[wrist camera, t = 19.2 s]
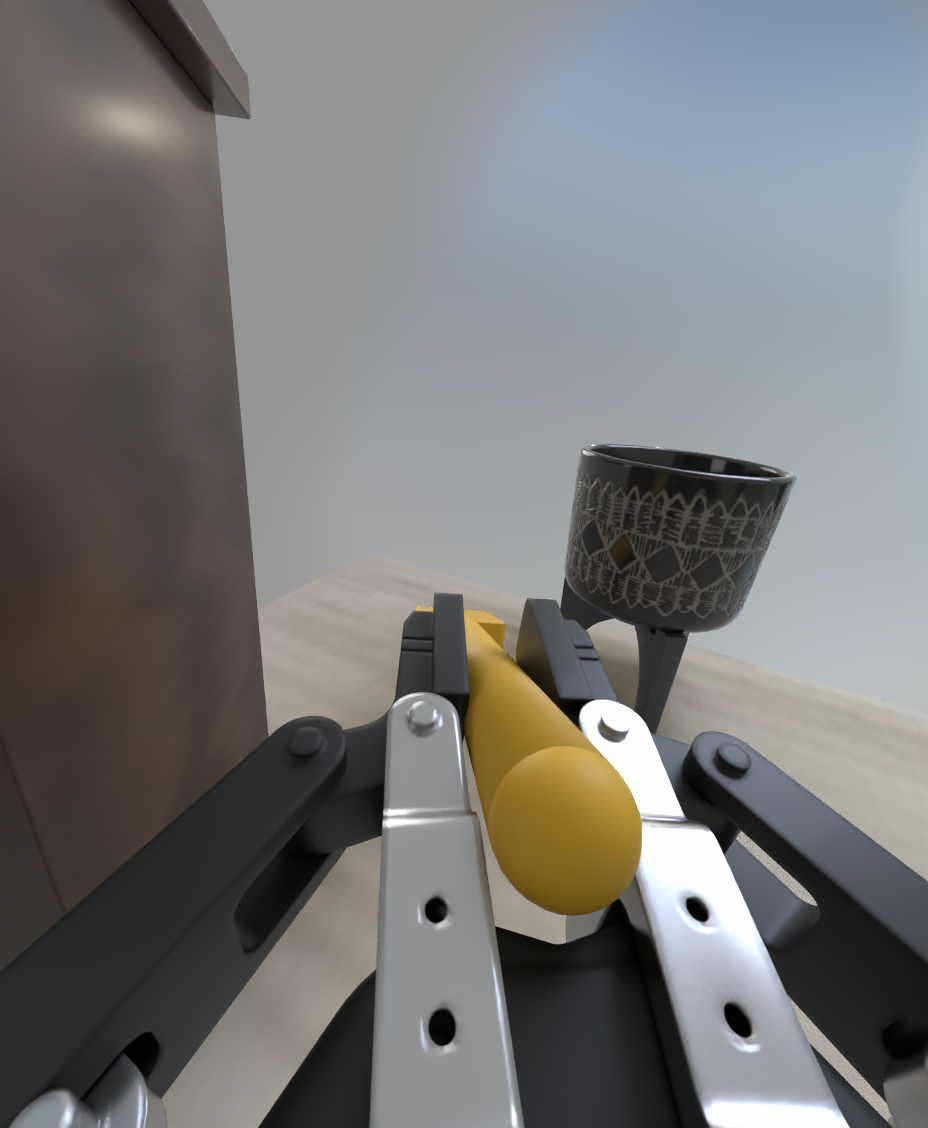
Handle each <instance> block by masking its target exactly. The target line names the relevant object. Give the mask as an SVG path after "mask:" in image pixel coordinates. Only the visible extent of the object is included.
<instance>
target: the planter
mask: <svg viewBox="0 0 928 1128" xmlns="http://www.w3.org/2000/svg"><path fill="white" fill-rule="evenodd" d="M795 482H796V476H795V475H793V474H792V473H790V472H788V471H785V470H782V469H779V468H776V467H772V466H768V465H764V464H759V463H755V462H750V461H745V460H740V459H735V458H729V457H723V456H717V455H711V454H703V453H697V452H690V451H683V450H675V449H667V448H657V447H647V446H636V445H621V444H591V445H586V446H583V447H582V448H581V450H580V456H579V465H578V471H577V479H576V486H575V494H574V501H573V509H572V516H571V523H570V531H569V538H568V546H567V554H566V561H565V579H564V587H563V594H562V602H561V608H560V611H561V613H562V616H563V618H564V619H570V620H575V621H576V622H577V623H578V624H579V625H581V626H582V627H583V628H584V629H585V630H587V629H588V628H589V627H591V626H592V625H594V624H596V623H598V622H601V621H605V620H609V619H613V618H616V619H618V620H620V621H622V622H625V623H628V624H631V625H634V626H635V629H636V633H637V639H638V646H639V682H638V691H637V698H636V703H635V708H634V712H635V713H636V714H638V715H639V716H640V717H641V718H642V720H643V721H644V722H645V724H646V726H647V728H648V730H649V732H651V733H656V730H657V727H658V724H659V721H660V718H661V715H662V712H663V709H664V707H665V704H666V701H667V698H668V695H669V692H670V689H671V686H672V683H673V680H674V677H675V675H676V672H677V669H678V666H679V663H680V660H681V657H682V654H683V651H684V648H685V645H686V643H687V638H688V635H689V633H697V632H708V631H712V630H716V629H720V628H722V627H724V626H727V625H729V624H730V623H732V622H733V621H734V620H735V619H736V618H737V617H738V616H739V614H740V613H741V611H742V609H743V606H744V604H745V601H746V599H747V597H748V594H749V592H750V590H751V587H752V585H753V582H754V580H755V577H756V575H757V573H758V570H759V568H760V566H761V563H762V561H763V558H764V556H765V553H766V551H767V549H768V546H769V544H770V541H771V539H772V537H773V534H774V532H775V530H776V527H777V525H778V523H779V520H780V518H781V515H782V513H783V511H784V508H785V506H786V503H787V501H788V498H789V496H790V494H791V491H792V489H793V487H794V484H795Z"/></svg>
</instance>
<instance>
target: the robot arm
mask: <svg viewBox="0 0 928 1128" xmlns="http://www.w3.org/2000/svg"><path fill="white" fill-rule="evenodd" d="M516 664H517V665H518V666H519V667H520V668H521V669H522V670H523V671H524V672H525V673H526V674H527V675H528V676H529V677H530V678H531V680H532V681H533V682H534V683H535V684H536V685H537V686H538V687H539V688H540V689H541V690H542V691H543V692H544V693H545V694H546V695H547V696H548V697H549V698H550V700H551V701H552V702H553V703H554V704H555V705H556V706H557V707H558V708H559V709H560V710H561V711H562V712H563V713H564V714H565V715H566V716H567V717H568V718H569V719H570V721H571V722H572V723H573V724H574V725H575V726H576V727H577V728H578V729H579V730H580V731H581V732H582V733H583V734H584V735H585V736H586V737H587V738H588V739H589V741H590V742H591V743H592V744H593V745H594V746H595V747H596V748H597V749H598V750H599V751H600V752H601V753H602V754H603V755H604V756H605V757H606V758H607V759H608V761H609V762H610V763H611V764H612V765H613V766H614V767H615V768H616V769H617V770H618V771H619V773H620V774H621V775H622V777H623V778H624V780H625V782H626V783H627V784H628V786H629V787H630V789H631V791H632V793H633V795H634V798H635V800H636V802H637V806H638V809H639V812H640V817H641V822H642V831H643V844H642V853H641V859H640V863H639V866H638V869H637V871H636V874H635V876H634V877H633V879H632V881H631V883H630V884H629V886H628V887H627V889H626V890H625V891H624V892H623V893H622V894H621V896H620V897H619V898H618V899H616V900H615V901H614V902H613V903H611V904H610V905H609V906H607V907H605V908H603V909H601V910H599V911H596V912H593V913H589V914H584V915H573V916H570V915H566V943H564V944H552V943H548V942H545V941H542V940H538V939H535V938H532V937H529V936H526V935H522V934H519V933H516V932H513V931H509V930H506V929H503V928H500V927H496V926H495V923H494V916H493V909H492V903H491V896H490V889H489V882H488V875H487V868H486V861H485V854H484V847H483V840H482V834H481V827H480V822H479V818H478V815H477V813H476V812H475V811H473V812H472V810H471V806H470V800H469V792H468V785H467V777H466V769H465V762H464V754H463V746H462V745H463V738H464V729H463V724H464V718H465V715H466V713H467V711H468V704H469V698H470V687H469V674H468V661H467V648H466V635H465V621H464V608H463V596H462V594H449V593H435V595H434V606H433V612H431V611H413V612H412V613H411V614H410V616H409V617H408V618H407V619H406V620H405V622H404V626H403V635H402V644H401V652H400V661H399V669H398V678H397V686H396V695H395V700H394V702H393V705H392V706H391V708H390V709H389V710H388V711H387V713H386V714H385V715H383V716H382V717H381V718H379V719H378V720H376V721H374V722H372V723H370V724H367V725H363V726H360V727H356V728H352V729H347V730H343V729H342V727H341V726H340V725H339V724H338V723H336V722H335V721H333V720H331V719H329V718H326V717H322V716H306V717H301V718H298V719H295V720H292V721H290V722H288V723H286V724H284V725H283V726H281V727H280V728H279V729H277V730H276V731H275V732H274V733H273V734H272V735H271V736H269V737H268V738H267V739H266V740H265V741H264V742H263V743H261V744H260V745H259V746H258V747H257V748H256V749H255V750H253V751H252V752H251V753H250V754H249V755H248V756H247V757H245V758H244V759H243V760H242V761H241V762H240V763H238V764H237V765H236V766H235V767H234V768H233V769H232V770H230V771H229V772H228V773H227V774H226V775H225V776H224V777H222V778H221V779H220V780H219V781H218V782H217V783H216V784H214V785H213V786H212V787H211V788H210V789H209V790H208V791H206V792H205V793H204V794H203V795H202V796H201V797H200V798H198V799H197V800H196V801H195V802H194V803H193V804H192V805H190V806H189V807H188V808H187V809H186V810H185V811H184V812H182V813H181V814H180V815H179V816H178V817H177V818H176V819H174V820H173V821H172V822H171V823H170V824H169V825H168V826H166V827H165V828H164V829H163V830H162V831H161V832H160V833H158V834H157V835H156V836H155V837H154V838H153V839H151V840H150V841H149V842H148V843H147V844H146V845H145V846H143V847H142V848H141V849H140V850H139V851H138V852H137V853H135V854H134V855H133V856H132V857H131V858H130V859H129V860H127V861H126V862H125V863H124V864H123V865H122V866H121V867H119V868H118V869H117V870H116V871H115V872H114V873H113V874H111V875H110V876H109V877H108V878H107V879H106V880H105V881H103V882H102V883H101V884H100V885H99V886H98V887H97V888H95V889H94V890H93V891H92V892H91V893H90V894H89V895H87V896H86V897H85V898H84V899H83V900H82V901H81V902H79V903H78V904H77V905H76V906H75V907H74V908H72V909H71V910H70V911H69V912H68V913H67V914H66V915H64V916H63V917H62V918H61V919H60V920H59V921H58V922H56V923H55V924H54V925H53V926H52V927H51V928H50V929H48V930H47V931H46V932H45V933H44V934H43V935H42V936H40V937H39V938H38V939H37V940H36V941H35V942H34V943H32V944H31V945H30V946H29V947H28V948H27V949H26V950H24V951H23V952H22V953H21V954H20V955H19V956H18V957H16V958H15V959H14V960H13V961H12V962H11V963H10V964H8V965H7V966H6V967H5V968H4V969H3V970H2V971H0V1128H167V1118H166V1111H165V1108H164V1105H163V1103H162V1100H161V1098H162V1097H163V1096H164V1094H165V1093H166V1091H167V1090H168V1089H169V1087H170V1086H171V1085H172V1083H173V1082H174V1081H175V1079H176V1078H177V1077H178V1075H179V1074H180V1073H181V1071H182V1070H183V1069H184V1067H185V1066H186V1064H187V1063H188V1062H189V1060H190V1059H191V1058H192V1056H193V1055H194V1054H195V1052H196V1051H197V1050H198V1048H199V1047H200V1046H201V1044H202V1043H203V1042H204V1040H205V1039H206V1037H207V1036H208V1035H209V1033H210V1032H211V1031H212V1029H213V1028H214V1027H215V1025H216V1024H217V1023H218V1021H219V1020H220V1019H221V1017H222V1016H223V1015H224V1013H225V1012H226V1010H227V1009H228V1008H229V1006H230V1005H231V1004H232V1002H233V1001H234V1000H235V998H236V997H237V996H238V994H239V993H240V992H241V990H242V989H243V987H244V986H245V985H246V983H247V982H248V981H249V979H250V978H251V977H252V975H253V974H254V973H255V971H256V970H257V969H258V967H259V966H260V965H261V963H262V962H263V960H264V959H265V958H266V956H267V955H268V954H269V952H270V951H271V950H272V948H273V947H274V946H275V944H276V943H277V942H278V940H279V939H280V938H281V936H282V935H283V933H284V932H285V931H286V929H287V928H288V927H289V925H290V924H291V923H292V921H293V920H294V919H295V917H296V916H297V915H298V913H299V912H300V911H301V909H302V908H303V906H304V905H305V904H306V902H307V901H308V900H309V898H310V897H311V896H312V894H313V893H314V892H315V890H316V889H317V888H318V886H319V885H320V884H321V882H322V881H323V879H324V878H325V877H326V875H327V874H328V873H329V871H330V870H331V869H332V867H333V866H334V865H335V863H336V862H337V861H338V859H339V858H340V857H341V855H342V854H343V852H344V850H345V849H346V847H349V846H352V845H355V844H358V843H361V842H364V841H367V840H370V839H373V838H376V837H379V836H382V849H381V872H380V895H379V919H378V942H377V966H376V970H375V971H374V972H372V973H371V974H370V975H369V976H368V977H367V978H366V979H365V980H364V981H363V982H361V983H360V985H359V986H358V987H357V988H356V989H355V990H354V991H353V993H352V994H351V995H350V996H349V997H348V998H347V999H346V1001H345V1002H344V1003H343V1005H342V1006H341V1007H340V1009H339V1010H338V1012H337V1013H336V1014H335V1016H334V1017H333V1019H332V1020H331V1022H330V1023H329V1025H328V1026H327V1028H326V1029H325V1031H324V1032H323V1033H322V1035H321V1036H320V1038H319V1039H318V1041H317V1042H316V1044H315V1045H314V1047H313V1048H312V1050H311V1051H310V1052H309V1054H308V1055H307V1057H306V1058H305V1060H304V1061H303V1063H302V1064H301V1066H300V1067H299V1069H298V1070H297V1071H296V1073H295V1074H294V1076H293V1077H292V1079H291V1080H290V1082H289V1083H288V1085H287V1086H286V1088H285V1089H284V1090H283V1092H282V1093H281V1095H280V1096H279V1098H278V1099H277V1101H276V1102H275V1104H274V1105H273V1106H272V1108H271V1109H270V1111H269V1112H268V1114H267V1115H266V1117H265V1118H264V1120H263V1121H262V1123H261V1124H260V1125H259V1127H258V1128H928V881H926V880H925V879H924V878H922V877H921V876H920V875H918V874H917V873H916V872H914V871H913V870H912V869H910V868H909V867H908V866H906V865H905V864H904V863H903V862H901V861H900V860H899V859H897V858H896V857H895V856H893V855H892V854H891V853H889V852H888V851H887V850H885V849H884V848H883V847H881V846H880V845H879V844H878V843H876V842H875V841H874V840H872V839H871V838H870V837H868V836H867V835H866V834H864V833H863V832H862V831H860V830H859V829H858V828H856V827H855V826H854V825H853V824H851V823H850V822H849V821H847V820H846V819H845V818H843V817H842V816H841V815H839V814H838V813H837V812H835V811H834V810H833V809H831V808H830V807H829V806H828V805H826V804H825V803H824V802H822V801H821V800H820V799H818V798H817V797H816V796H814V795H813V794H812V793H810V792H809V791H808V790H806V789H805V788H804V787H803V786H801V785H800V784H799V783H797V782H796V781H795V780H793V779H792V778H791V777H789V776H788V775H787V774H785V773H784V772H783V771H781V770H780V769H779V768H778V767H776V766H775V765H774V764H772V763H771V762H770V761H768V760H767V759H766V758H764V757H763V756H762V755H760V754H759V753H758V752H757V751H755V750H754V749H753V748H751V747H750V746H748V745H747V744H746V743H744V742H742V741H741V740H739V739H737V738H735V737H733V736H730V735H727V734H725V733H720V732H713V731H710V732H703V733H701V734H699V735H698V736H697V737H696V738H695V739H694V741H693V743H692V745H688V744H685V743H681V742H678V741H675V740H671V739H668V738H665V737H661V736H659V735H656V734H653V733H651V732H649V730H648V728H647V726H646V724H645V722H644V721H643V720H642V718H641V717H640V716H639V715H638V714H636V713H635V712H634V711H633V710H631V709H630V708H628V707H626V706H624V705H622V704H620V703H619V701H618V698H617V696H616V694H615V692H614V689H613V687H612V685H611V683H610V681H609V678H608V676H607V674H606V672H605V670H604V667H603V665H602V663H601V661H599V656H598V654H597V652H596V650H595V649H594V645H593V643H592V641H591V639H590V636H589V634H588V632H587V631H586V630H585V629H584V628H583V627H582V626H581V625H579V624H578V623H577V622H576V621H575V620H570V619H564V618H563V616H562V613H561V611H560V608H559V606H558V603H557V601H556V600H547V599H530V598H528V599H527V600H526V603H525V607H524V612H523V617H522V622H521V627H520V632H519V637H518V642H517V648H516ZM740 831H742V832H744V833H745V834H746V835H747V836H748V837H749V838H750V839H751V840H752V841H753V842H755V843H756V844H757V845H758V846H759V847H760V848H761V849H762V850H763V851H765V852H766V853H767V854H768V855H769V856H770V857H771V858H772V859H773V860H774V861H776V862H777V863H778V864H779V865H780V866H781V867H782V868H783V869H784V870H785V871H787V872H788V873H789V874H790V875H791V876H792V877H793V878H794V879H795V880H796V881H798V882H799V883H800V884H801V885H802V886H803V887H804V888H805V889H806V890H807V891H808V892H809V893H810V894H811V895H812V897H813V898H814V900H815V901H816V903H817V905H818V906H814V905H811V904H809V903H806V902H805V901H803V900H801V899H800V898H799V897H798V896H796V895H795V894H794V893H793V892H792V891H791V890H790V889H789V888H788V887H787V886H785V885H784V884H783V883H782V882H781V881H780V880H779V879H778V878H777V877H776V876H775V875H774V874H773V873H771V872H770V871H769V870H768V869H767V868H766V867H765V866H764V865H763V864H762V863H761V862H760V861H759V860H758V859H756V858H755V857H754V856H753V855H752V854H751V853H750V852H749V851H748V850H747V849H746V848H745V847H744V846H742V845H741V844H740V843H739V842H738V841H737V840H736V837H737V836H738V834H739V833H740ZM787 995H788V996H789V997H790V998H791V999H792V1000H793V1001H794V1003H795V1004H796V1005H797V1006H798V1007H799V1008H800V1009H801V1010H802V1011H803V1012H804V1013H805V1015H806V1016H807V1017H808V1018H809V1019H810V1020H811V1021H812V1022H813V1023H814V1024H815V1025H816V1027H817V1028H818V1029H819V1030H820V1031H821V1032H822V1033H823V1034H824V1035H825V1036H826V1037H827V1039H828V1040H829V1041H830V1042H831V1043H832V1044H833V1045H834V1046H835V1047H836V1048H837V1049H838V1051H839V1052H840V1053H841V1054H842V1055H843V1056H844V1057H845V1058H846V1059H847V1060H848V1061H849V1063H850V1064H851V1065H852V1066H853V1067H854V1068H855V1069H856V1070H857V1071H858V1072H859V1073H860V1075H861V1076H862V1077H863V1078H864V1079H865V1080H866V1081H867V1082H868V1083H869V1084H870V1085H871V1087H872V1088H873V1089H874V1090H875V1091H876V1092H877V1093H878V1094H879V1095H880V1096H881V1098H882V1099H883V1100H884V1101H885V1102H886V1103H887V1105H888V1108H889V1111H890V1113H891V1116H892V1117H890V1118H889V1120H888V1122H887V1121H886V1120H885V1119H884V1118H883V1117H882V1116H881V1115H880V1114H879V1113H878V1112H877V1111H876V1110H875V1109H874V1108H873V1107H872V1106H871V1105H870V1104H869V1103H868V1102H867V1101H866V1100H865V1099H864V1098H863V1097H862V1096H861V1095H860V1094H859V1093H858V1092H857V1091H856V1090H855V1089H854V1088H853V1087H852V1086H851V1085H850V1084H849V1083H848V1082H847V1081H846V1080H845V1079H844V1078H843V1077H842V1076H841V1074H840V1073H839V1072H838V1071H837V1070H836V1069H835V1068H834V1067H833V1066H832V1065H831V1064H830V1063H829V1062H828V1061H827V1060H826V1059H825V1058H824V1057H823V1056H822V1055H821V1054H820V1053H819V1052H818V1051H817V1050H816V1049H815V1048H814V1047H813V1046H812V1045H811V1044H810V1043H809V1042H808V1040H807V1037H806V1035H805V1033H804V1031H803V1029H802V1026H801V1024H800V1022H799V1020H798V1018H797V1015H796V1013H795V1011H794V1009H793V1007H792V1004H791V1002H790V1000H789V998H788V996H787Z"/></svg>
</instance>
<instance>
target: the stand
mask: <svg viewBox="0 0 928 1128" xmlns="http://www.w3.org/2000/svg"><path fill="white" fill-rule="evenodd" d="M215 114H218V115H225V116H231V117H238V118H245V119H250V102H249V86H248V76H247V74H246V72H245V70H244V69H243V67H242V65H241V64H240V62H239V60H238V59H237V57H236V56H235V54H234V52H233V51H232V49H231V47H230V46H229V44H228V42H227V40H226V39H225V37H224V35H223V34H222V32H221V30H220V29H219V27H218V25H217V24H216V22H215V21H214V19H213V17H212V15H211V14H210V12H209V11H208V9H207V7H206V5H205V4H204V2H203V0H0V971H2V970H3V969H4V968H5V967H6V966H7V965H8V964H10V963H11V962H12V961H13V960H14V959H15V958H16V957H18V956H19V955H20V954H21V953H22V952H23V951H24V950H26V949H27V948H28V947H29V946H30V945H31V944H32V943H34V942H35V941H36V940H37V939H38V938H39V937H40V936H42V935H43V934H44V933H45V932H46V931H47V930H48V929H50V928H51V927H52V926H53V925H54V924H55V923H56V922H58V921H59V920H60V919H61V918H62V917H63V916H64V915H66V914H67V913H68V912H69V911H70V910H71V909H72V908H74V907H75V906H76V905H77V904H78V903H79V902H81V901H82V900H83V899H84V898H85V897H86V896H87V895H89V894H90V893H91V892H92V891H93V890H94V889H95V888H97V887H98V886H99V885H100V884H101V883H102V882H103V881H105V880H106V879H107V878H108V877H109V876H110V875H111V874H113V873H114V872H115V871H116V870H117V869H118V868H119V867H121V866H122V865H123V864H124V863H125V862H126V861H127V860H129V859H130V858H131V857H132V856H133V855H134V854H135V853H137V852H138V851H139V850H140V849H141V848H142V847H143V846H145V845H146V844H147V843H148V842H149V841H150V840H151V839H153V838H154V837H155V836H156V835H157V834H158V833H160V832H161V831H162V830H163V829H164V828H165V827H166V826H168V825H169V824H170V823H171V822H172V821H173V820H174V819H176V818H177V817H178V816H179V815H180V814H181V813H182V812H184V811H185V810H186V809H187V808H188V807H189V806H190V805H192V804H193V803H194V802H195V801H196V800H197V799H198V798H200V797H201V796H202V795H203V794H204V793H205V792H206V791H208V790H209V789H210V788H211V787H212V786H213V785H214V784H216V783H217V782H218V781H219V780H220V779H221V778H222V777H224V776H225V775H226V774H227V773H228V772H229V771H230V770H232V769H233V768H234V767H235V766H236V765H237V764H238V763H240V762H241V761H242V760H243V759H244V758H245V757H247V756H248V755H249V754H250V753H251V752H252V751H253V750H255V749H256V748H257V747H258V746H259V745H260V744H261V743H263V742H264V741H265V740H266V739H267V738H268V726H267V715H266V703H265V692H264V680H263V668H262V657H261V645H260V634H259V622H258V610H257V599H256V588H255V576H254V564H253V552H252V541H251V529H250V518H249V506H248V496H247V483H246V473H245V472H246V471H245V460H244V448H243V437H242V425H241V414H240V402H239V391H238V379H237V367H236V356H235V345H234V332H233V321H232V310H231V298H230V286H229V274H228V263H227V251H226V240H225V228H224V216H223V205H222V193H221V182H220V171H219V158H218V148H217V136H216V124H215Z"/></svg>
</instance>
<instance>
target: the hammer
mask: <svg viewBox="0 0 928 1128" xmlns="http://www.w3.org/2000/svg"><path fill="white" fill-rule="evenodd" d="M415 611H431V612H433V607H419V606H416V607H415ZM464 621H465V635H466V648H467V661H468V674H469V687H470V698H469V704H468V711H467V713H466V715H465V718H464V724H463V729H464V735H465V739H466V743H467V747H468V751H469V755H470V760H471V764H472V768H473V772H474V776H475V780H476V785H477V789H478V793H479V797H480V801H481V805H482V809H483V814H484V818H485V822H486V826H487V830H488V834H489V838H490V842H491V846H492V849H493V852H494V854H495V857H496V859H497V861H498V863H499V866H500V868H501V870H502V872H503V873H504V875H505V876H506V877H507V879H508V880H509V881H510V883H511V884H512V885H513V886H514V887H515V889H516V890H517V891H518V892H519V893H521V894H522V895H523V896H524V897H525V898H526V899H527V900H529V901H531V902H532V903H534V904H536V905H537V906H539V907H541V908H543V909H545V910H547V911H550V912H553V913H556V914H561V915H570V916H573V915H584V914H589V913H593V912H596V911H599V910H601V909H603V908H605V907H607V906H609V905H610V904H611V903H613V902H614V901H615V900H616V899H618V898H619V897H620V896H621V894H622V893H623V892H624V891H625V890H626V889H627V887H628V886H629V884H630V883H631V881H632V879H633V877H634V876H635V874H636V871H637V869H638V866H639V863H640V859H641V853H642V844H643V831H642V822H641V817H640V812H639V809H638V806H637V802H636V800H635V798H634V795H633V793H632V791H631V789H630V787H629V786H628V784H627V783H626V782H625V780H624V778H623V777H622V775H621V774H620V773H619V771H618V770H617V769H616V768H615V767H614V766H613V765H612V764H611V763H610V762H609V761H608V759H607V758H606V757H605V756H604V755H603V754H602V753H601V752H600V751H599V750H598V749H597V748H596V747H595V746H594V745H593V744H592V743H591V742H590V741H589V739H588V738H587V737H586V736H585V735H584V734H583V733H582V732H581V731H580V730H579V729H578V728H577V727H576V726H575V725H574V724H573V723H572V722H571V721H570V719H569V718H568V717H567V716H566V715H565V714H564V713H563V712H562V711H561V710H560V709H559V708H558V707H557V706H556V705H555V704H554V703H553V702H552V701H551V700H550V698H549V697H548V696H547V695H546V694H545V693H544V692H543V691H542V690H541V689H540V688H539V687H538V686H537V685H536V684H535V683H534V682H533V681H532V680H531V678H530V677H529V676H528V675H527V674H526V673H525V672H524V671H523V670H522V669H521V668H520V667H519V666H518V665H517V664H516V663H515V662H514V661H513V660H512V659H511V657H510V656H509V655H508V654H507V653H506V652H505V651H504V637H505V623H503V622H502V621H500V620H499V619H498V618H496V617H495V616H493V615H492V614H491V613H489V612H488V611H477V610H464Z"/></svg>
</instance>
